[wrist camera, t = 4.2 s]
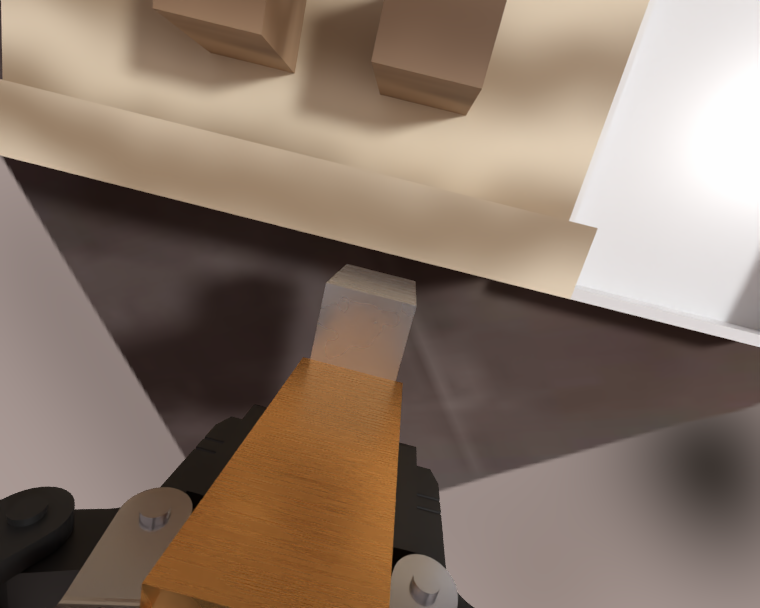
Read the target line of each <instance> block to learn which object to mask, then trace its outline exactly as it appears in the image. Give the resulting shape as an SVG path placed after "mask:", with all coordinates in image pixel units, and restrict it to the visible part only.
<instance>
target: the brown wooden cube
mask: <svg viewBox="0 0 760 608" xmlns="http://www.w3.org/2000/svg"><path fill="white" fill-rule="evenodd" d="M306 1H307V0H153V7H152V8H153V9H154V10H156V11H157V12H158V13H159V14H161V15H162V16H163V17H165V18H166V19H167V20H168V21H170V22H171V23H172V24H174V25H175V26H176V27H178V28H179V29H180V30H181V31H183V32H184V33H185V34H187V35H188V36H189V37H190V38H192V39H193V40H194V41H196V42H197V43H198V44H200V45H201V46H202V47H203V48H205V49H206V50H207V51H209V52H210V53H213V54H217V55H221V56H225V57H229V58H234V59H238V60H242V61H246V62H250V63H254V64H258V65H262V66H266V67H270V68H274V69H278V70H282V71H286V72H290V73H294V74H295V69H296V63H297V57H298V51H299V44H300V38H301V32H302V26H303V20H304V13H305V7H306Z"/></svg>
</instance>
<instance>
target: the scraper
mask: <svg viewBox="0 0 760 608" xmlns="http://www.w3.org/2000/svg"><path fill="white" fill-rule="evenodd" d="M415 309H416V281H412V280H408V279H404V278H401V277H397V276H393V275H389V274H385V273H381V272H377V271H373V270H369V269H365V268H361V267H357V266H353V265H350V264H346V265H345V266H344V267H343V268H342V269H341V270H340V271H339V272H337V273H336V274H335V275H334V276H333V277H332V278H331V279H330V280H329V281H328V282H326V286H325V291H324V295H323V300H322V305H321V310H320V315H319V320H318V325H317V329H316V334H315V339H314V344H313V349H312V354H311V358H310V359H308V358H304V357H303V358H302V360H301V361H300V363H299V364H298V365H297V367H296V368H295V370H294V371H293V372H292V374H291V375H290V377H289V378H288V379H287V381H286V382H285V384H284V385H283V386H282V388H281V389H280V391H279V392H278V393H277V395H276V396H275V398H274V399H273V400H272V402H271V403H270V405H269V406H268V407H267V409H266V410H265V412H264V413H263V414H262V416H261V417H260V419H259V420H258V421H257V423H256V424H255V426H254V427H253V428H252V430H251V431H250V433H249V434H248V435H247V437H246V438H245V440H244V441H243V442H242V444H241V445H240V447H239V448H238V449H237V451H236V452H235V454H234V455H233V456H232V458H231V459H230V461H229V462H228V463H227V465H226V466H225V468H224V469H223V470H222V472H221V473H220V475H219V476H218V477H217V479H216V480H215V482H214V483H213V484H212V486H211V487H210V489H209V490H208V491H207V493H206V494H205V496H204V497H203V498H202V500H201V501H200V503H199V504H198V505H197V507H196V508H195V510H194V511H193V512H192V514H191V515H190V517H189V518H188V519H187V521H186V522H185V524H184V525H183V526H182V528H181V529H180V531H179V532H178V533H177V535H176V536H175V538H174V539H173V540H172V542H171V543H170V545H169V546H168V547H167V549H166V550H165V552H164V553H163V554H162V556H161V557H160V559H159V560H158V561H157V563H156V564H155V566H154V567H153V568H152V570H151V571H150V573H149V574H148V575H147V577H146V578H145V580H144V581H143V582H142V587H141V599H140V608H389V605H390V588H391V570H392V553H393V536H394V519H395V502H396V485H397V468H398V451H399V434H400V417H401V400H402V383H400V382H396V377H397V374H398V370H399V366H400V363H401V359H402V356H403V352H404V348H405V345H406V341H407V338H408V334H409V330H410V327H411V323H412V320H413V316H414V313H415Z"/></svg>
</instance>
